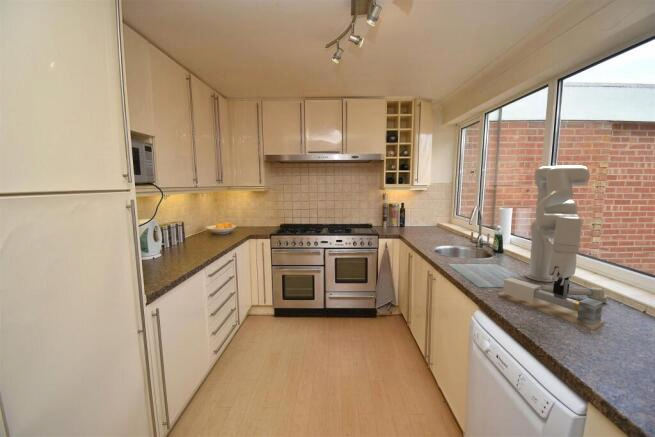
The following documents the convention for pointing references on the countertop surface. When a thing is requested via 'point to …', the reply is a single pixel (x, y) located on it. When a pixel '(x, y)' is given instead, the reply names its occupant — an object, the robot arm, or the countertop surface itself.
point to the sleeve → (520, 289)
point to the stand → (569, 311)
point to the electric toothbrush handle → (581, 292)
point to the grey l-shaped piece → (558, 297)
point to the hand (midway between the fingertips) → (560, 292)
